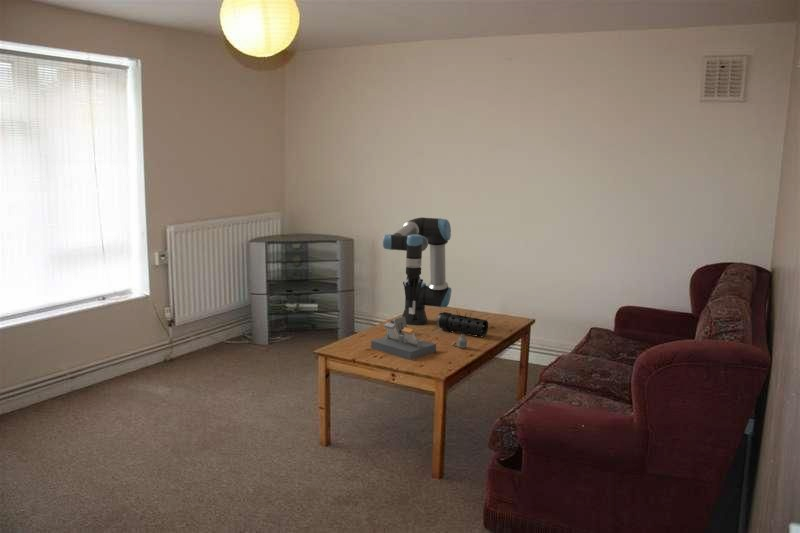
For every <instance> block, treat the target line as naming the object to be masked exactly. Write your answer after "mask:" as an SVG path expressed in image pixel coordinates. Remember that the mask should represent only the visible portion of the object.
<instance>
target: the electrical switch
mask: <svg viewBox="0 0 800 533" xmlns="http://www.w3.org/2000/svg"><path fill="white" fill-rule="evenodd" d="M390 323H392V324H395V325H396V330H397V332H398V334H401V335H404V333H403V332H402V330H403V329H404V327H406V328H408V326H407V325H408V324H406V319H405V317H402V316H400V317H397V318H394V319H393V320H391V321H390Z"/></svg>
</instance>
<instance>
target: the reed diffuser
mask: <svg viewBox="0 0 800 533" xmlns="http://www.w3.org/2000/svg"><path fill="white" fill-rule="evenodd" d="M456 315H459V316H458V319H459V317H460V315H461V314H460V312H459V313H458V311H456ZM464 316H465V319H466V317H467V314H465V315H464ZM471 316H472V314H470V315H469V317H471ZM469 319H470V318H469ZM468 322H469V320H468ZM459 324H461V320H460V321H459ZM467 325H468V323H467ZM464 327H465V323H464ZM466 328H467V326H466ZM460 329H461V332H460V337H458V338H457V343H456V342H455V341H453V342H452V344H451V345H452V346H453V347H458V348H460V349H461V348H462V349H465V348H467V343H468V339H467V338H466V337H465V335H466V334H465V332H464V330H463V333H462V327H461V326H460ZM465 331H466V329H465Z"/></svg>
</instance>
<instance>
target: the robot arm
mask: <svg viewBox="0 0 800 533" xmlns="http://www.w3.org/2000/svg"><path fill="white" fill-rule="evenodd" d="M451 237H452V229H451V224H450V221H449V220H448V219H446V218H441V217H440V218H437V217H435V218H433V217H417V218H413V219H410V220H408V221H406V222H405V223H404V224H403V225H402V227H401V228H400V229H398V230H396V232H395V233H393V234H391V233H389V234H385V235H383V238H382V247H383V249H385V250H389V251H393V250H394V251H405V252H406V259H405V275H406V280H405V281H403V282H402V285H403V288H404V295H405V297H404V298H405V299H404V310H403V312H402V316H401V317H405V319H406V325H411V326H412V325H413V326H415V325H416V326H417V325H419V326H420V325H425V324H427V323H428V317H427V314H426V310H425V307H426V306H427V307H428V306H429V307H435V308H436V307H437V308H446V307H448V305H449V304H450V300H451V296H452V288H451V287H449V284H448V282H447V281H446V279H447V278H446V276H447V275H446V245H447V244H448V242H449V241H450V240H451ZM428 246H429V262H430V264H429V266H430V267H429V268H430V272H429V273H430V274H429V275H430V282H429V283H428V284H427V283H426V282H423V281H424V279H423V278H421V276H420V275H422V267H421V266H422V258H423V252H424V251H426V249H427V248H428Z"/></svg>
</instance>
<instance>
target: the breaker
mask: <svg viewBox="0 0 800 533" xmlns="http://www.w3.org/2000/svg"><path fill="white" fill-rule="evenodd" d="M383 326H384V328H385V329H386V332H388V334H389V338H392V339H396V340H399V335H398V332H397V330H396V325H395V324H392V323H391V322H386V323H385V324H384V325H383Z"/></svg>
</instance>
